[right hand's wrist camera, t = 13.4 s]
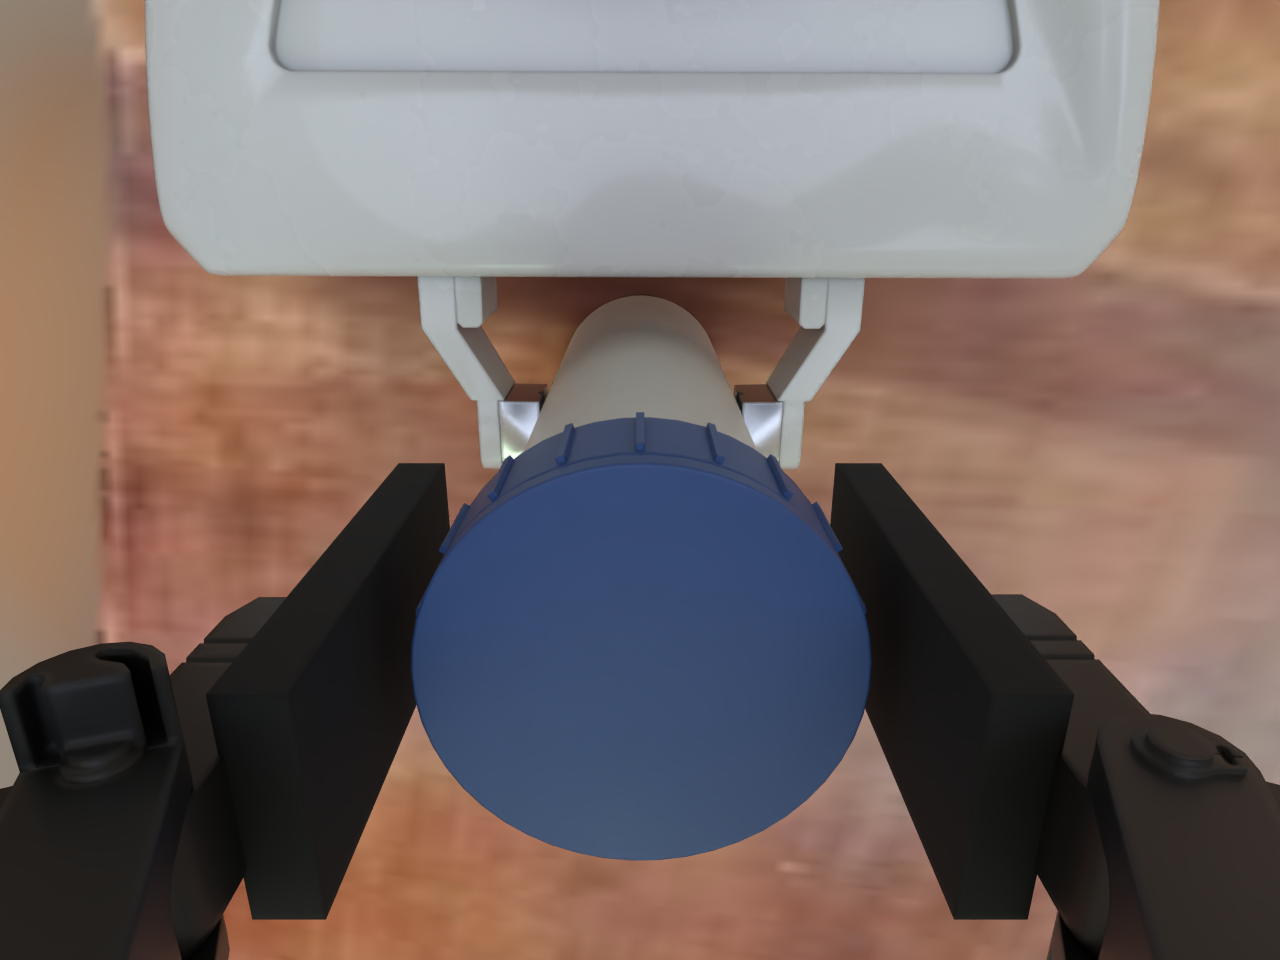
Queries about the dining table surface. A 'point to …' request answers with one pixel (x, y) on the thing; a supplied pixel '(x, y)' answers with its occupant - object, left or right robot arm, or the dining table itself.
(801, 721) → the lid
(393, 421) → the dining table surface
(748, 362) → the dining table surface
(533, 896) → the dining table surface
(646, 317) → the jar
